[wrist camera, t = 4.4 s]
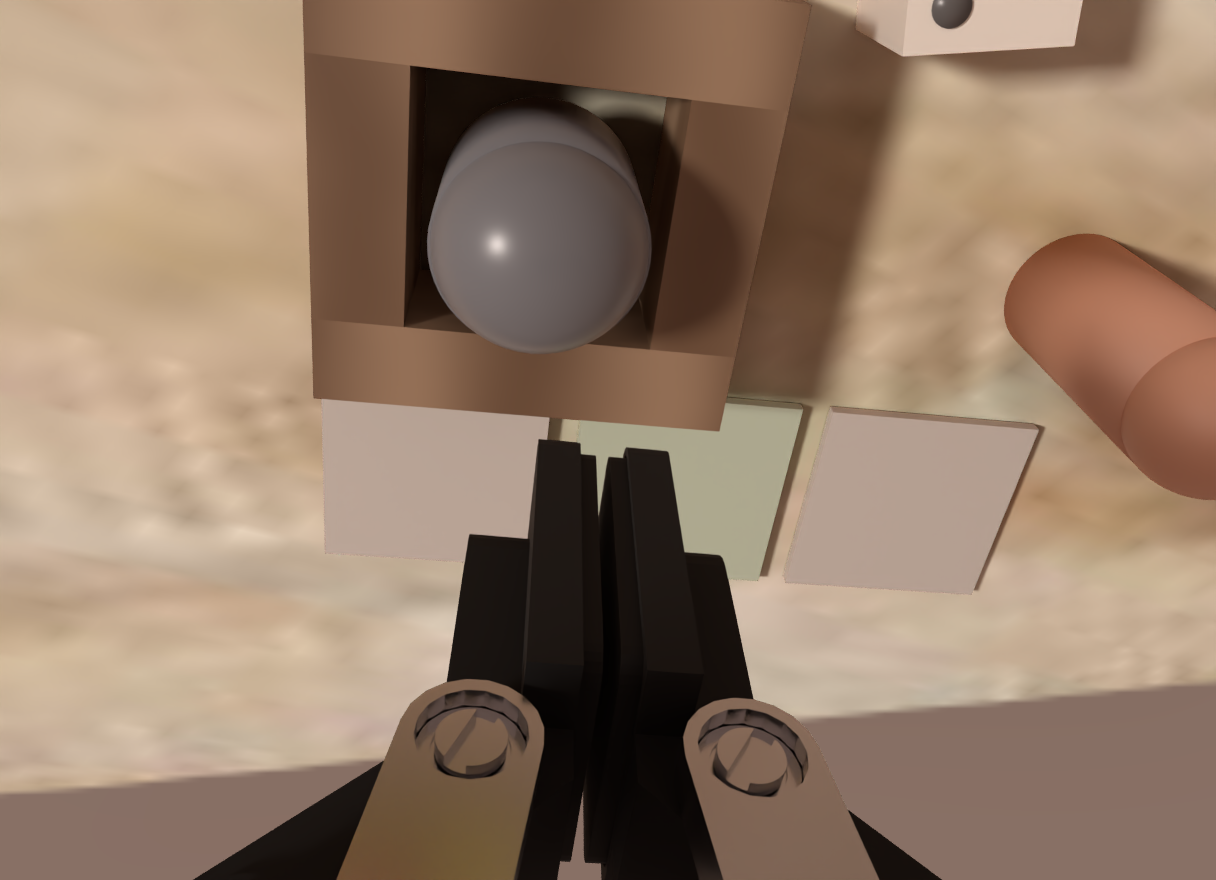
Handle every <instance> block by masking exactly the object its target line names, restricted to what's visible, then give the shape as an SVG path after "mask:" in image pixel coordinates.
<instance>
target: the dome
mask: <svg viewBox="0 0 1216 880" xmlns="http://www.w3.org/2000/svg"><path fill="white" fill-rule="evenodd" d="M651 251H652V246H651V233H650V227H649V222H648V218H647V215H646V211H645V208H644V204H643V201H642V197H641V194H640V191H639V187H638V184H637V180H636V177H635V173H634V170H633V167H632V164H631V161H630V158H629V156H628V154H627V152H626V150H625V148H624V146H623V144H622V143H621V141H620V140H619V138H618V137H617V136H616V134H615V133H614V132H613V131H612V130H611V129H610V128H609V126H608V125H606V124H605V123H604V122H603V121H602V120H601V119H600V118H598V117H597V116H595V115H594V114H592V113H591V112H589V111H588V110H586V109H584V108H582V107H580V106H578V105H576V104H573V103H570V102H567V101H564V100H559V99H554V98H547V97H530V98H521V99H517V100H512V101H509V102H506V103H503V104H501V105H498V106H496V107H494V108H492V109H490V110H488V111H487V112H485V113H484V114H482V115H481V116H480V117H478V118H477V119H476V120H474V121H473V122H472V123H471V124H470V125H469V126H468V127H467V128H466V129H465V131H464V132H463V133H462V135H461V136H460V137H459V138H458V140H457V142H456V143H455V145H454V147H453V149H452V151H451V153H450V156H449V158H448V161H447V163H446V167H445V170H444V174H443V177H442V180H441V184H440V187H439V191H438V194H437V198H436V201H435V204H434V208H433V211H432V215H431V219H430V223H429V228H428V237H427V252H428V260H429V266H430V270H431V273H432V276H433V280H434V283H435V285H436V287H437V289H438V291H439V293H440V295H441V297H442V298H443V300H444V301H445V303H446V305H447V306H448V307H449V309H450V310H451V311H452V312H453V313H454V315H455V316H456V317H457V318H458V319H459V320H460V321H461V322H462V323H464V324H465V325H466V326H467V327H468V328H470V329H471V330H472V331H474V332H475V333H476V334H478V335H480V336H481V337H483V338H484V339H486V340H488V341H490V342H492V343H493V344H496V345H498V346H501V347H503V348H506V349H510V350H513V351H517V352H523V353H530V354H551V353H559V352H564V351H569V350H572V349H575V348H578V347H581V346H583V345H586V344H588V343H590V342H592V341H594V340H595V339H597V338H599V337H600V336H602V335H603V334H605V333H606V332H608V331H609V330H610V329H612V328H613V327H614V326H615V325H616V324H618V323H619V322H620V321H621V320H622V319H623V318H624V316H625V315H626V314H627V313H628V312H629V311H630V309H631V308H632V306H633V305H634V304H635V302H636V301H637V299H638V297H639V295H640V293H641V291H642V290H643V287H644V284H645V282H646V279H647V276H648V272H649V267H650V263H651Z"/></svg>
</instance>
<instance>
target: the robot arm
mask: <svg viewBox="0 0 1216 880" xmlns="http://www.w3.org/2000/svg"><path fill="white" fill-rule="evenodd" d="M582 793H583V805H584V806H583V810H584V811H583V813H584V815H583V816H584V860H585V863H601V875H602V876H601V878H602V880H942V879H940V878H939V877H938V876H936V875H935V874H933V873H932V872H931V871H929V870H928V869H927V868H925V867H924V866H923V865H921V864H920V863H919V862H917V861H916V860H915V859H913V858H912V857H911V856H909V855H908V854H906V853H905V852H904V851H903V850H901V849H900V848H899V847H897V846H896V845H894V844H893V843H892V842H890V841H889V840H888V839H886V838H885V837H883V836H882V835H881V834H880V833H878V832H877V831H876V830H874V829H873V828H872V827H870V826H869V825H868V824H866V823H865V822H864V821H862V820H861V819H860V818H858V817H857V816H856V815H854V814H853V813H852V812H850V811H849V810H848V809H847V807H846V805H845V803H844V801H843V799H842V796H841V794H840V792H839V790H838V787H837V785H836V783H835V781H834V779H833V776H832V774H831V772H830V770H829V768H828V765H827V763H826V761H825V759H824V756H823V754H822V752H821V750H820V748H819V746H818V744H817V743H816V741H815V740H814V738H813V737H812V735H811V733H810V732H809V731H808V730H807V729H806V728H805V727H804V726H803V725H802V724H801V723H800V722H799V721H798V720H797V719H795V718H794V717H793V716H792V715H790V714H788V713H786V712H785V711H783V710H781V709H779V708H777V707H776V706H774V705H770V704H767V703H764V702H761V701H757V700H754V699H753V695H752V690H751V685H750V681H749V676H748V671H747V666H746V662H745V657H744V652H743V647H742V643H741V638H740V633H739V628H738V624H737V619H736V614H735V609H734V605H733V600H732V595H731V590H730V586H729V581H728V576H727V571H726V567H725V563H724V560H723V558H722V557H721V556H720V555H713V554H702V553H690V552H684V545H683V539H682V533H681V526H680V520H679V513H678V507H677V501H676V494H675V488H674V482H673V475H672V469H671V463H670V456H669V453H668V451H662V450H651V449H641V448H630V447H626V448H625V451H624V454H623V458H618V457H608V460H607V465H606V471H605V478H604V485H603V491H602V498H601V504H600V511H599V516H598V490H597V464H596V455H586V454H581V444H580V443H577V442H566V441H556V440H545V439H538V446H537V455H536V464H535V473H534V483H533V492H532V501H531V510H530V520H529V529H528V538H527V539H524V538H513V537H501V536H489V535H477V534H469V538H468V544H467V551H466V557H465V564H464V571H463V577H462V584H461V591H460V597H459V604H458V611H457V617H456V624H455V631H454V637H453V644H452V651H451V657H450V664H449V671H448V677H447V682H445V683H443V684H441V685H438V686H436V687H434V688H431V689H429V690H427V691H425V692H424V693H423V694H422V695H420V696H419V697H418V698H417V699H415V700H414V701H413V702H412V703H411V704H410V705H409V707H408V708H407V710H406V712H405V713H404V715H403V716H402V718H401V720H400V722H399V725H398V727H397V730H396V732H395V735H394V737H393V740H392V742H391V745H390V747H389V750H388V752H387V755H386V757H385V760H384V761H382V762H381V763H379V764H378V765H376V766H374V767H373V768H371V769H370V770H368V771H367V772H365V773H363V774H362V775H360V776H359V777H357V778H355V779H354V780H352V781H350V782H349V783H347V784H346V785H344V786H343V787H341V788H339V789H338V790H336V791H334V792H333V793H331V794H330V795H328V796H326V797H325V798H323V799H322V800H320V801H318V802H317V803H315V804H314V805H312V806H310V807H309V808H307V809H306V810H304V811H302V812H301V813H299V814H298V815H296V816H294V817H293V818H291V819H290V820H288V821H286V822H285V823H283V824H282V825H280V826H278V827H277V828H275V829H274V830H272V831H270V832H269V833H267V834H266V835H264V836H262V837H261V838H259V839H258V840H256V841H255V842H253V843H251V844H250V845H248V846H246V847H245V848H243V849H242V850H240V851H239V852H237V853H235V854H234V855H232V856H230V857H229V858H227V859H226V860H224V861H222V862H221V863H219V864H218V865H216V866H214V867H213V868H211V869H210V870H208V871H207V872H205V873H203V874H202V875H200V876H198V877H197V878H195V879H194V880H557V877H558V870H559V865H560V861H565V862H570V860H571V857H572V851H573V845H574V839H575V834H576V828H577V822H578V816H579V811H580V805H581V799H582Z"/></svg>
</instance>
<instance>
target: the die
mask: <svg viewBox="0 0 1216 880" xmlns="http://www.w3.org/2000/svg"><path fill="white" fill-rule="evenodd" d="M1082 2H1083V0H858V2H857V15H856V28H855V29H856V30H857V31H859V32H861V33H863V34H864V35H866V36H868V37H870V38H871V39H873V40H875V41H876V42H878V43H880V44H882V45H883V46H885V47H887V48H889V49H890V50H892V51H894V52H895V53H897V54H899V55H901V56H902V57H903V56H920V55H936V54H952V53H969V52H985V51H1001V50H1018V49H1034V48H1051V47H1067V46H1074V45H1075V39H1076V34H1077V29H1078V23H1079V18H1080V13H1081V7H1082Z"/></svg>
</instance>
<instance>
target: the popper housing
mask: <svg viewBox="0 0 1216 880" xmlns="http://www.w3.org/2000/svg"><path fill="white" fill-rule="evenodd" d="M811 6H812V5H810V4H809V3H807V2H805V1H803V0H303V30H304V66H305V103H306V139H307V176H308V213H309V249H310V286H311V323H312V359H313V396H314V398H316V399H329V400H341V401H353V402H365V403H377V404H389V405H401V406H414V407H426V408H438V409H450V410H462V411H474V412H486V413H499V414H511V415H523V416H535V417H547V418H559V419H572V420H584V421H596V422H608V423H620V424H632V425H644V426H657V427H669V428H681V429H693V430H705V431H717V432H719V431H720V426H721V422H722V417H723V413H724V408H725V403H726V399H727V394H728V389H729V385H730V380H731V376H732V371H733V366H734V362H735V357H736V353H737V348H738V343H739V339H740V334H741V329H742V325H743V320H744V316H745V311H746V306H747V302H748V297H749V293H750V288H751V283H752V279H753V274H754V269H755V265H756V260H757V256H758V251H759V246H760V242H761V237H762V233H763V228H764V223H765V219H766V214H767V209H768V205H769V200H770V196H771V191H772V186H773V182H774V177H775V173H776V168H777V163H778V159H779V154H780V149H781V145H782V140H783V136H784V131H785V126H786V122H787V117H788V113H789V108H790V103H791V99H792V94H793V89H794V85H795V80H796V76H797V71H798V66H799V62H800V57H801V53H802V48H803V43H804V39H805V34H806V29H807V25H808V20H809V16H810V11H811ZM427 68H435V69H444V70H452V71H460V72H468V73H476V74H484V75H493V76H501V77H509V78H517V79H525V80H533V81H542V82H550V83H558V84H566V85H574V86H583V87H591V88H599V89H607V90H615V91H623V92H632V93H640V94H648V95H656V96H664V97H667V102H666V108H665V115H664V121H663V128H662V134H661V141H660V147H659V154H658V160H657V167H656V173H655V180H654V186H653V193H652V199H651V206H650V212H649V219H648V222H649V227H650V233H651V246H652V251H651V263H650V267H649V272H648V276H647V279H646V282H645V284H644V287H643V290H642V291H641V293H640V295H639V297H638V299H637V301H636V302H635V304H634V305H633V306H632V308H631V309H630V311H629V312H628V313H627V314H626V315H625V316H624V318H623V319H622V320H621V321H620V322H619V323H618V324H616V325H615V326H614V327H613V328H612V329H610V330H609V331H608V332H606V333H605V334H603V335H602V336H600V337H599V338H597V339H595V340H594V341H592V342H590V343H588V344H586V345H583V346H581V347H578V348H575V349H572V350H569V351H564V352H559V353H551V354H530V353H523V352H517V351H513V350H510V349H506V348H503V347H501V346H498V345H496V344H493V343H492V342H490V341H488V340H486V339H484V338H483V337H481V336H480V335H478V334H476V333H475V332H474V331H472V330H471V329H470V328H468V327H467V326H466V325H465V324H464V323H462V322H461V321H460V320H459V319H458V318H457V317H456V316H455V315H454V313H453V312H452V311H451V310H450V309H449V307H448V306H447V305H446V303H445V301H444V300H443V298H442V297H441V295H440V293H439V291H438V289H437V287H436V285H435V283H434V280H433V276H432V273H431V271H430V270H420V253H421V223H422V192H423V162H424V132H425V102H426V71H427Z"/></svg>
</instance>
